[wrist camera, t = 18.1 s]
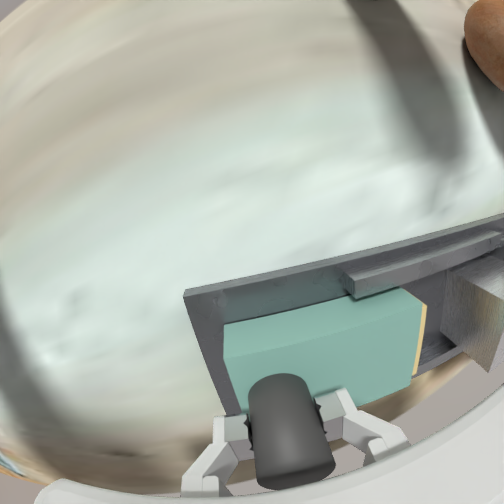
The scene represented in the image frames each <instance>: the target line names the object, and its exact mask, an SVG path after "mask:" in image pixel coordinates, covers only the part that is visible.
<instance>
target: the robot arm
mask: <svg viewBox="0 0 504 504" xmlns="http://www.w3.org/2000/svg"><path fill="white" fill-rule="evenodd" d="M313 400H314V405H315V408H316V411H317V414H318V416H319V419H320V422H321V425H322V427H323V430H324V433H325V436H326V438H327V441H328V442H329V441H333V440H336V439H340V438H342V439H344V440H345V441H347V442H348V443H350V444H351V445H353V446H355V447H356V448H358V449H359V450H361V451H362V452H364V453H365V454H366V455H365V460H364V464H363V467H362V468H359V469H356V470H354V471H351V472H348V473H345V474H342V475H339V476H335V477H332V478H329V479H326V480H322V481H318V482H314V483H310V484H306V485H302V486H297V487H293V488H288V489H283V490H277V491H272V492H265V493H258V494H250V495H241V496H233V495H232V494H231V493H230V491H229V490H228V489H227V488H226V487H225V484H226V483H227V481H228V480H229V478H230V476H231V475H232V473H233V471H234V470H235V468H236V466H237V465H238V463H239V461H242V460H248V459H254V450H253V441H252V432H251V423H250V422H249V416H248V414H247V413H240V414H232V415H224V416H216V417H214V419H213V444H209V445H208V446H207V448H206V449H205V450H204V451H203V453H202V454H201V455H200V456H199V457H198V458H197V460H196V461H195V462H194V463H193V464H192V465H191V467H190V468H189V469H188V470H187V471H186V472H185V473H184V475H183V476H182V484H181V495H180V498H179V497H160V496H149V495H140V494H132V493H126V492H119V491H114V490H108V489H104V488H99V487H94V486H90V485H86V484H82V483H79V482H75V481H72V480H68V479H64V478H61V479H58V480H56V481H55V482H53V483H51V484H50V485H48V486H47V487H45V488H43V489H42V490H41V491H40V493H39V494H38V496H37V498H36V499H35V502H34V504H504V383H503V384H502V385H501V386H500V387H499V388H498V389H496V390H495V391H494V392H493V393H492V394H490V395H489V396H488V397H487V398H485V399H484V400H483V401H481V402H480V403H479V404H478V405H476V406H475V407H474V408H472V409H471V410H469V411H468V412H467V413H465V414H464V415H462V416H461V417H459V418H458V419H456V420H455V421H453V422H452V423H450V424H449V425H447V426H446V427H444V428H442V429H441V430H439V431H437V432H436V433H434V434H432V435H430V436H429V437H427V438H425V439H423V440H421V441H420V442H418V443H416V444H414V445H412V446H411V444H410V443H409V441H408V439H407V438H406V436H405V435H404V433H403V431H402V430H401V428H400V427H398V426H396V425H393V424H391V423H389V422H386V421H384V420H382V419H379V418H377V417H375V416H373V415H371V414H368V413H366V412H364V411H362V410H360V411H358V410H357V408H356V406H355V404H354V402H353V400H352V399H351V397H350V395H349V393H348V391H347V389H346V388H342V389H339V390H336V391H332V392H329V393H326V394H323V395H319V396H316V397H314V398H313Z"/></svg>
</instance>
